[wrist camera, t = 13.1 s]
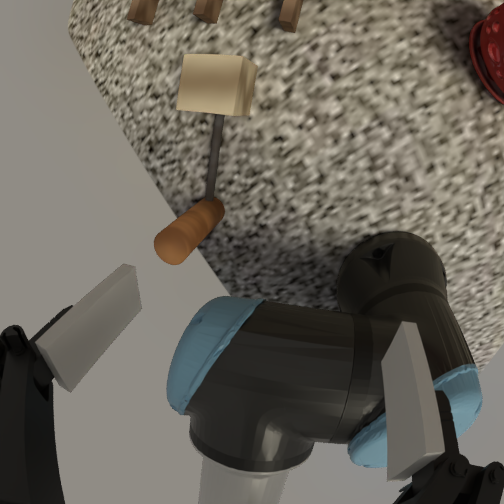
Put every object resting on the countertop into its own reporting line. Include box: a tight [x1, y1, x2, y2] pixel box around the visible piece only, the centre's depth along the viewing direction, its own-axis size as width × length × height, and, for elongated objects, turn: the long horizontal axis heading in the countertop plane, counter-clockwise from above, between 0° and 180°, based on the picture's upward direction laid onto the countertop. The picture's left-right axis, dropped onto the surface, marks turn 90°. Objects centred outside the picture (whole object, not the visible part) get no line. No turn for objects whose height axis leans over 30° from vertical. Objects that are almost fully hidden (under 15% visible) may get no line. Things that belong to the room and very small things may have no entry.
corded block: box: [154, 54, 258, 265], centre depth 27 cm, size 20×6×11 cm, turn 171°
